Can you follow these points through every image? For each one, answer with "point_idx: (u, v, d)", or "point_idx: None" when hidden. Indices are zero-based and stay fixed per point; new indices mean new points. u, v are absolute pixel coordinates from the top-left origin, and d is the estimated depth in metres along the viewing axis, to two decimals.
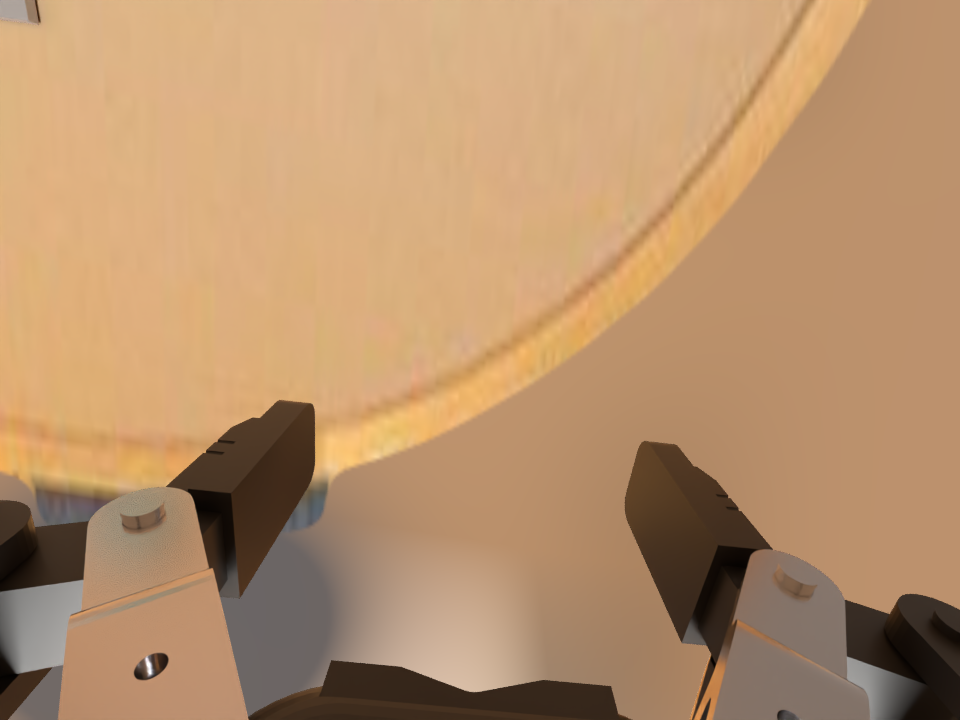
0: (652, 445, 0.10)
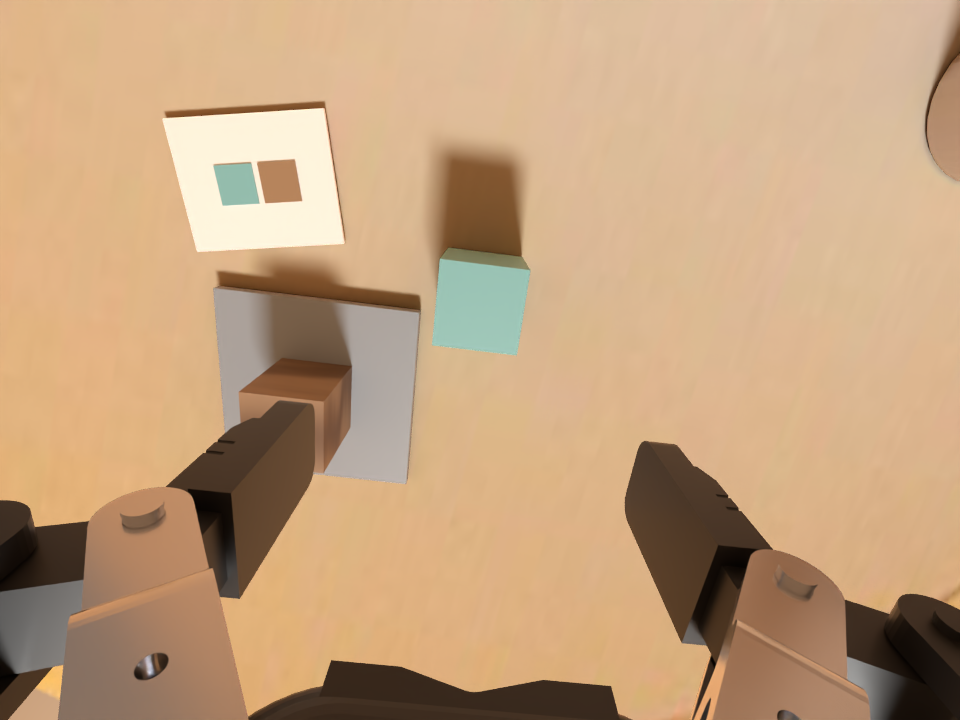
0: (652, 445, 0.10)
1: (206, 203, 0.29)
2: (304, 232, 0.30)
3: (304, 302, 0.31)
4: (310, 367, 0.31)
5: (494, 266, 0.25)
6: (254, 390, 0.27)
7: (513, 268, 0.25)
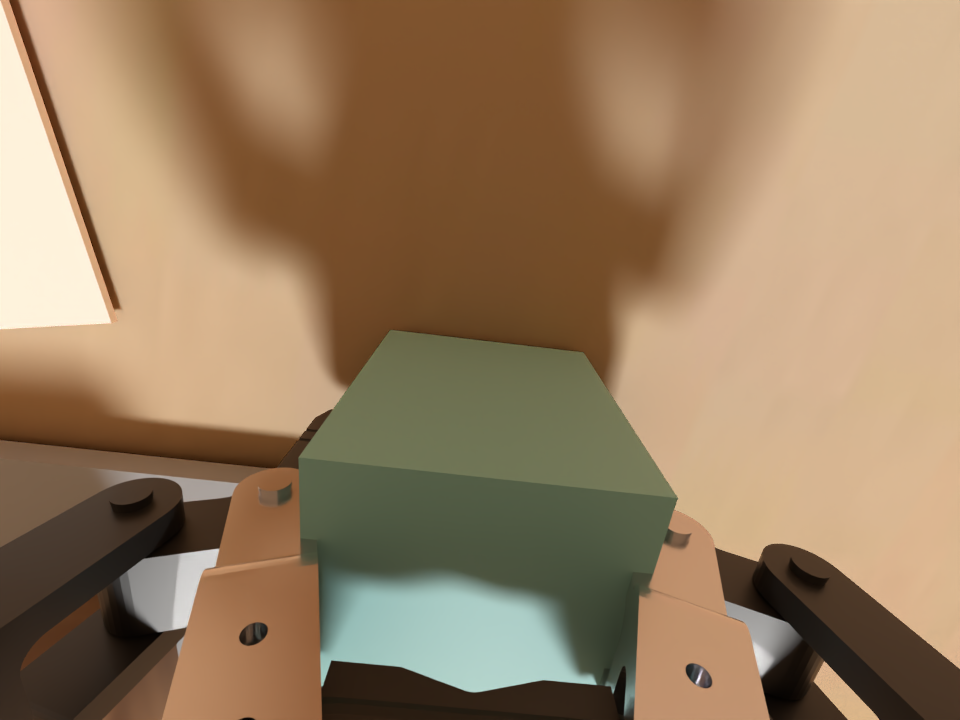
0: None
1: None
2: None
3: (24, 468, 0.12)
4: None
5: (529, 484, 0.06)
6: None
7: (607, 490, 0.06)
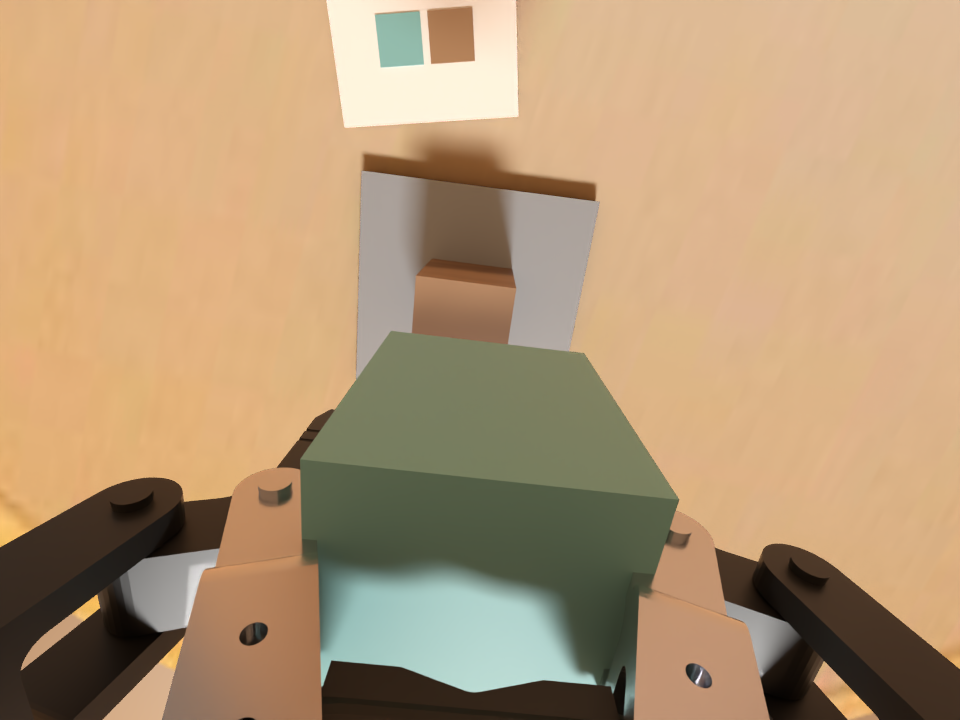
0: None
1: (361, 64, 0.25)
2: (472, 102, 0.25)
3: (466, 188, 0.26)
4: (470, 266, 0.27)
5: (530, 485, 0.06)
6: (431, 275, 0.23)
7: (608, 491, 0.06)
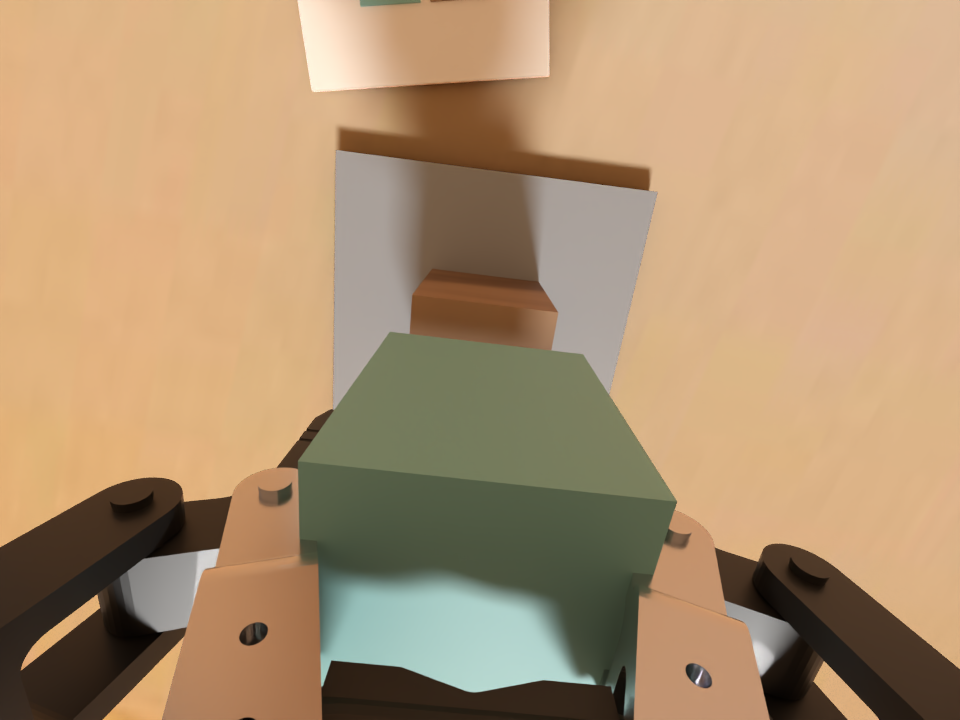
0: None
1: (333, 2, 0.18)
2: (486, 56, 0.18)
3: (478, 174, 0.19)
4: (485, 279, 0.20)
5: (528, 487, 0.06)
6: (435, 294, 0.16)
7: (606, 493, 0.06)
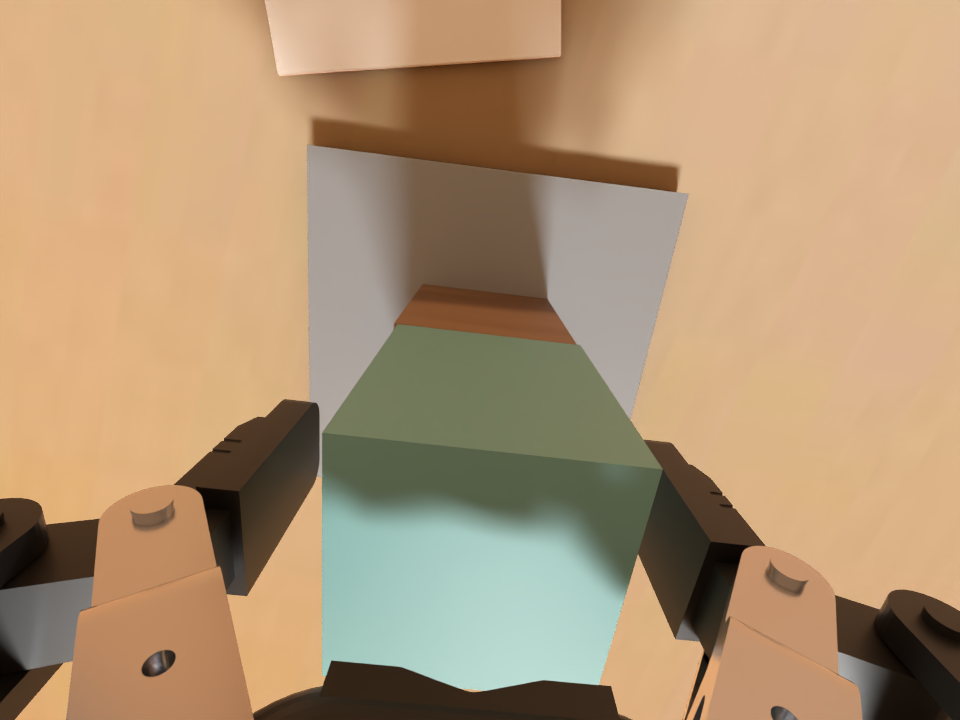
0: (647, 443, 0.10)
1: None
2: (486, 31, 0.15)
3: (476, 173, 0.16)
4: (485, 297, 0.17)
5: (528, 456, 0.07)
6: (423, 322, 0.13)
7: (599, 462, 0.07)
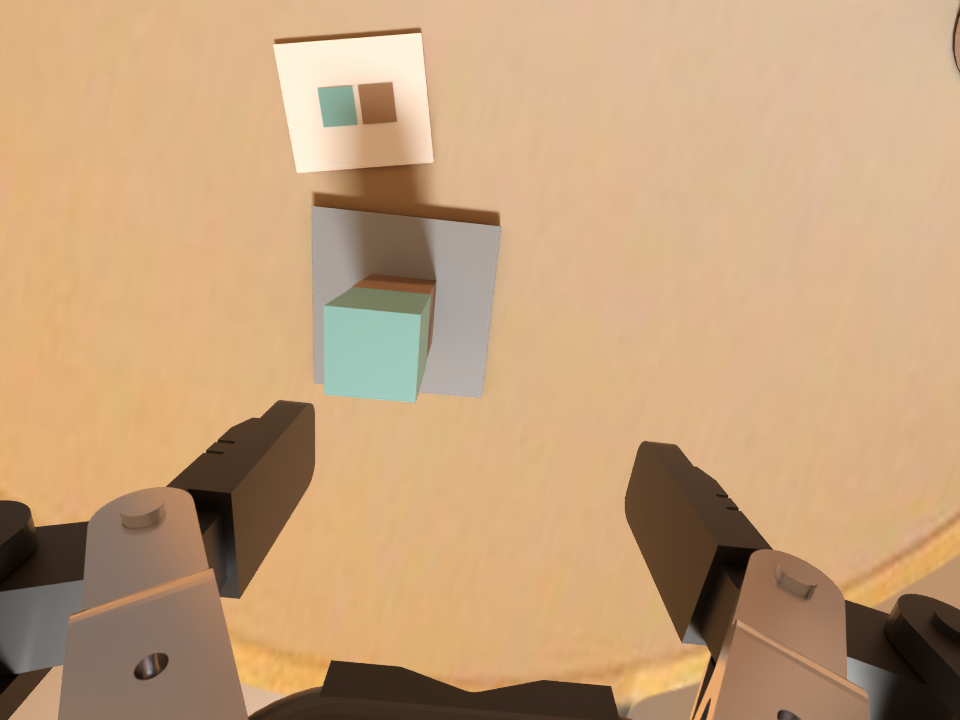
0: (652, 445, 0.10)
1: (308, 125, 0.32)
2: (396, 152, 0.32)
3: (395, 218, 0.33)
4: (401, 279, 0.33)
5: (382, 311, 0.23)
6: (364, 286, 0.29)
7: (403, 313, 0.23)
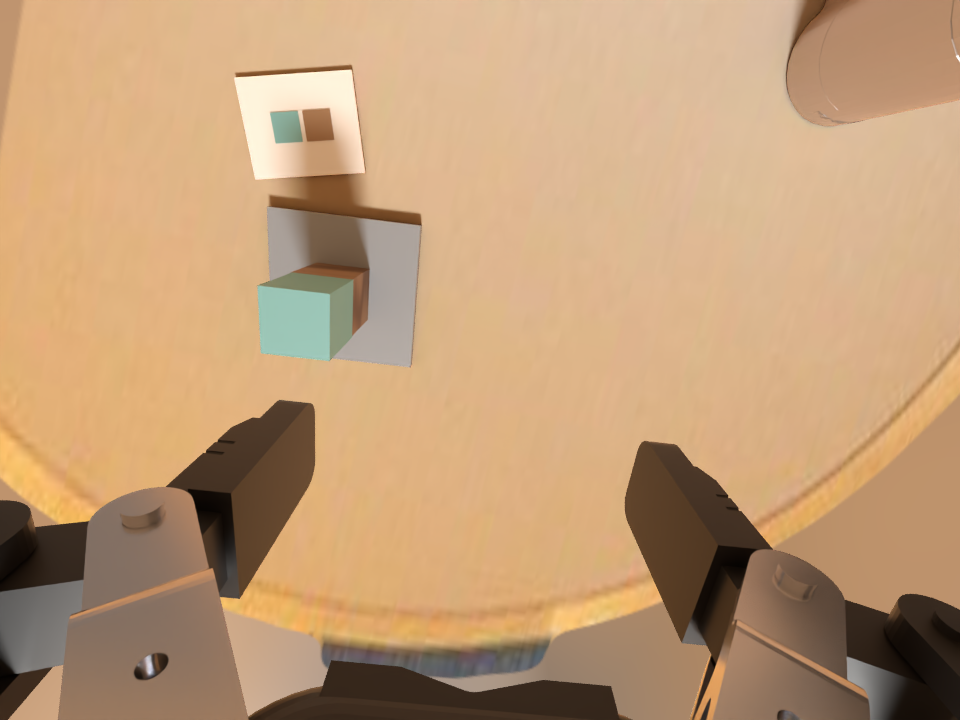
0: (652, 445, 0.10)
1: (263, 141, 0.39)
2: (335, 164, 0.40)
3: (334, 217, 0.41)
4: (339, 267, 0.41)
5: (301, 291, 0.31)
6: (302, 272, 0.37)
7: (316, 292, 0.31)
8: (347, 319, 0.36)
